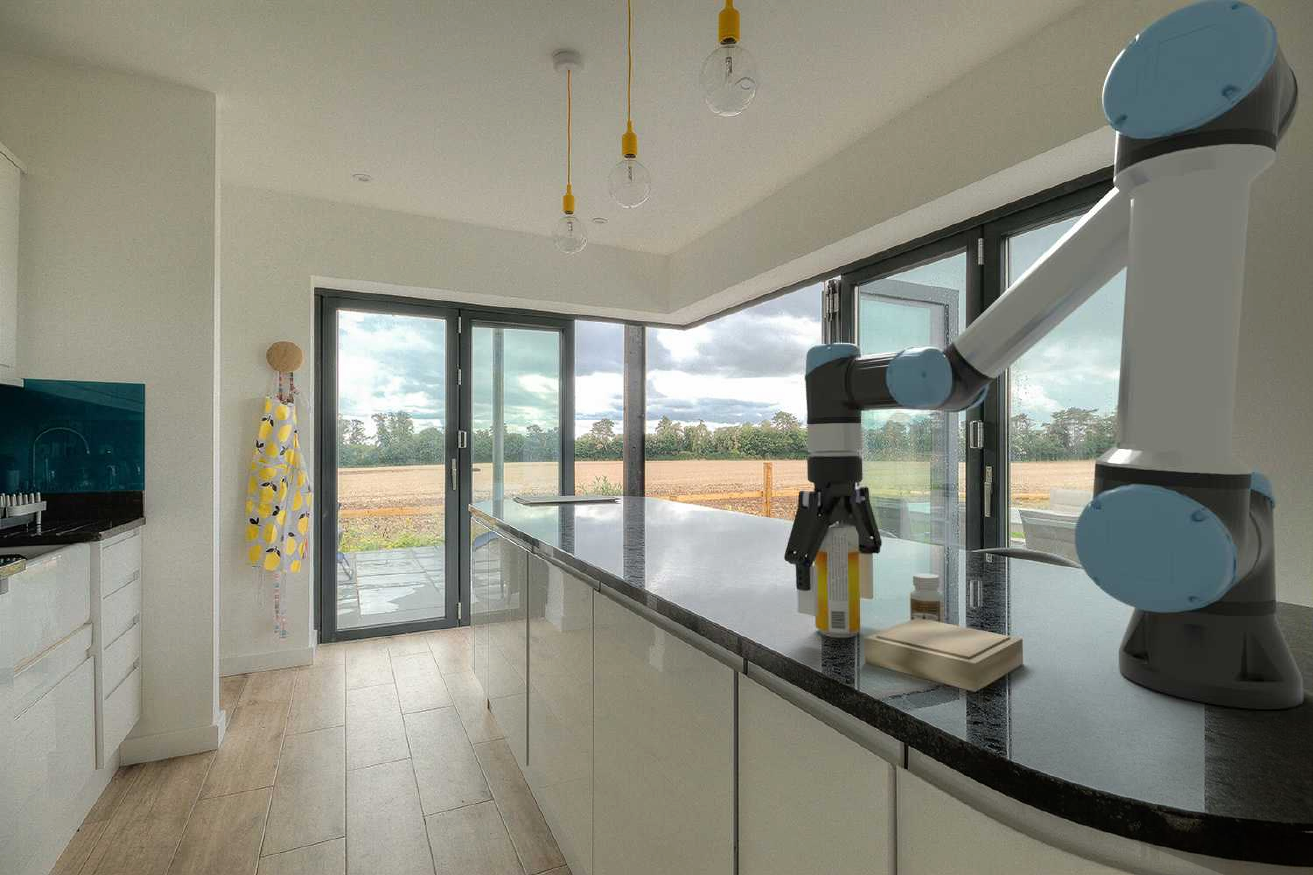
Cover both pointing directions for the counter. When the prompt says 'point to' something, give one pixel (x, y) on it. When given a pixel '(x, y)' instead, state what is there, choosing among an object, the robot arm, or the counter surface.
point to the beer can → (838, 582)
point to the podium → (945, 653)
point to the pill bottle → (926, 598)
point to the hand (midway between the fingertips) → (837, 605)
